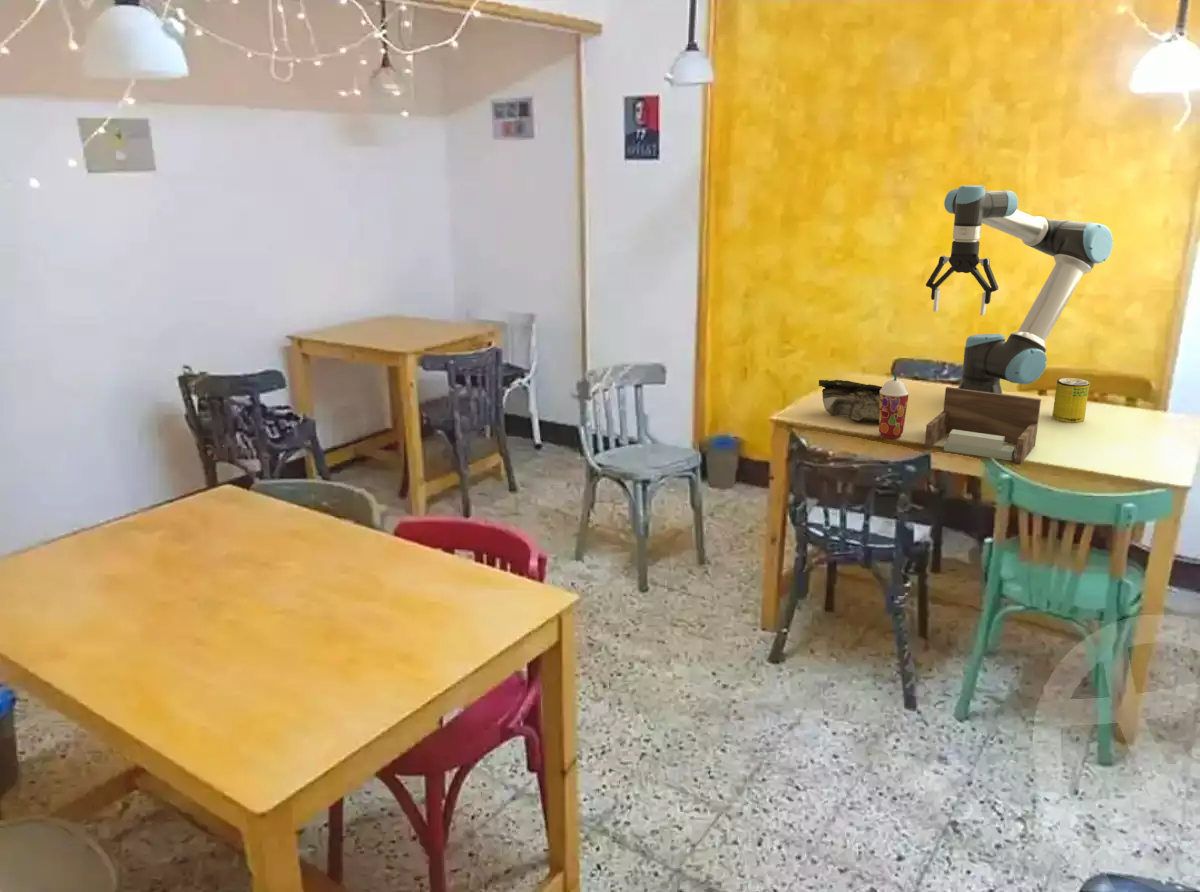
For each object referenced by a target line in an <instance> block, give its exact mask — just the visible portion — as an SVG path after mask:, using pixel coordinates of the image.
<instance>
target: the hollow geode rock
mask: <svg viewBox="0 0 1200 892" xmlns="http://www.w3.org/2000/svg"><path fill="white" fill-rule="evenodd" d="M818 387H822V390H821V393H822V403H823V407H824V409H825V411H826V412H827V413H829V415H830V416H831V415H834V416H835V415H837V416H838V415H841V416H845V417H850V418H851V419H852V420H855V421H859V422H860V421H861V420H862V419H864V418H873V419H876V420H878V421H879V399H880V392H879V391H880V390H881V388H882V387H883V386H880V385H876V384H865V383H860V382H855V381H850V380H843V379H833V380H828V379H819V380H818Z"/></svg>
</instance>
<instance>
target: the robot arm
mask: <svg viewBox="0 0 1200 892" xmlns="http://www.w3.org/2000/svg"><path fill="white" fill-rule="evenodd" d="M943 204H944V209H945V210H946V211H947V213H949V214H951V215H952V214H953V215H954V220H953V221H954V222H953V232H952V239H953V241H952V242H951V252H950V253H951V254H950V256H946V255H942V256H939V258H938V263H937V265H936V266H935V268H934V270H933V272H932V273H931V275H930V277H929V278H928V279H927V282H926V283H925V287H927V288H930V289H931V294H930V295H931V296H930V297H931V298H930V299H931V300H934V301H933V309H932V310H933V311H932V312H938V311H939V308H940V297H941V288H939V287H940V286H941V285H942V284H943V283H944V282H945V281H946V280H947V279H948V278H949V277H950V276H951V275H952V274H953V273H954V272H955V273H956V274H957V273H958V274H960V273H964V274H969V273H970V274H971V275H972V277H974V278H975V280H976V281H977V282H978V284H979V285H980V286H981V288H982V289H983V290H984V291H983V292H982V293H981V294H982V295H981V303H980V312H979V313H980V315H979V316H985V315H986V311H987V305H989V304H990V303H991V297H992V293H994V292H996V291H998V290H999V285H998V283H997V280H996V278H995V276H994V273H993V270H992V268H991V266H990V265H991V263H990V262H991V261H990V260H991V259H990V258H989V257H985V258H980V257H979V253H980V252H979V251H980V241H978V240H980V239H981V233H982V232H981V231H982V225H985V226H988V227H990V228H993V229H994V230H995V229H996V230H998V231H1000V232H1003V233H1004V234H1005V233H1006V234H1008V235H1010V236H1011V237H1015V238H1017V239H1019V240H1021V241H1022V243H1023V244H1024V245H1025V246H1028V247H1030V248H1032V249H1035V250H1036V251H1038V252H1041V253H1044V254H1045V255H1048V256H1051V257H1053V260H1054V262H1055V264H1054V266H1053V268H1052V270H1051V272H1050V273H1049V275H1048V276H1047V279H1046V281H1045V282H1044V284H1043V286H1042V287H1041V289H1040V291H1039V293H1038V294H1037V296H1036V298H1035V300H1034V302H1033V303H1032V306H1031V307H1030V309H1029V311H1028V313H1027V314H1026V317H1025V318H1024V319H1023V321H1022V322H1021V323H1022V324H1021V325H1020V326H1019V328H1018V330H1017V331H1015V332H1011V334H1010V335H1009V336H1008V338H1007V340H1006V336H1005V335H1004V334H1000V333H981V334H979V333H977V334H973V335H970V336H968V337H967V338H966V340H965V346H964V354H963V365H962V376H961V381H960V383H959V384H958V387H957V388H960V389H968V390H975V391H983V392H991V393H999V394H1003V391H1002V386H1001V380H1004V381H1007V382H1010V383H1012V384H1019V385H1029V384H1031V383H1034V382H1035V381H1037V380H1038V379H1040V377H1041V376H1042V375H1043V373H1044V372H1045V370H1046V368H1047V361H1048V358H1047V354H1046V352H1047V347H1046V344H1045V343H1046V341H1047V339H1048V337H1049V336H1050V334H1051V332H1052V330H1053V329H1054V326H1055V325H1056V324H1057V321H1058V319H1059V317H1060V316H1061V315H1062V313H1063V311H1064V310H1065V307H1066V306H1067V303H1068V302H1069V300H1070V299H1071V297H1072V295H1073V293H1074V291H1075V289H1077V286H1078V284H1079V283H1080V281H1081V279H1082V277H1083V275H1086V274H1088V273H1091V272H1092V270H1093V269H1094V267H1095V265H1097V264H1101V263H1103V262H1105V261H1107V259H1108V258H1109V257H1110V256H1111V254H1112V252H1113V251H1112V250H1113V247H1114V240H1113V234H1112V232H1111V230H1110V228H1109V227H1108V226H1107V225H1105V224H1101V223H1096V222H1095V221H1094V222H1092V221H1090V222H1087V221H1086V222H1085V221H1073V220H1067V219H1066V220H1063V219H1062V220H1061V219H1052V218H1051V219H1050V218H1046V217H1045V216H1040V215H1037V216H1032V215H1030V214H1028V213H1026V212H1023V211H1021V210H1019V209H1018V208H1019V207H1018V205H1019V198H1018V195H1017V194H1016V193H1015V192H1014V191H1012V190H1004V189H1003V190H1002V189H1001V190H986V186H984V185H981V184H980V185H978V184H977V185H976V184H975V185H974V184H973V185H968V184H967V185H966V184H965V185H961V186H959V187H958V188H954V189H951V190H950V191H948V192H947V194H946V196H945V197H944V201H943ZM947 263H949V264H950V267H949V269H948V270H947V271H945V273H944V274H943V275H942V276H941V277H940V278H939V279H938V280H937V281H936V282H935V280H936V279H937V277H938V275H940V273H941V271H942V269H943V268H944V265H946V264H947ZM979 264H980V265H981V267H983V270H984V273H985V275H986V278H987V280H986V279H985V277H983V275H982V274H981V272H980V271H979V269H978V268H977V266H978V265H979ZM987 281H988V282H989V283H988V282H987ZM934 282H935V283H934Z"/></svg>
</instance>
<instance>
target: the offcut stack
mask: <svg viewBox="0 0 1200 892" xmlns="http://www.w3.org/2000/svg"><path fill="white" fill-rule="evenodd" d="M1004 440H1005V436H998V435H990V434H983V433H976V432H969V431H962V430H954V429H953V430H952V431H951V432H950V433H949V434H948V438H947V439H946V440H945V441H944V446H943V451H945V452H952V453H957V454H958V453H959V454H965V455H972V456H978V457H984V458H992V459H998V460H1005V461H1011V462H1012V460H1013V459H1014V457H1015V456H1016V447H1015V446H1007V445H1005V443H1004Z"/></svg>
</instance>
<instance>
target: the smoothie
mask: <svg viewBox="0 0 1200 892" xmlns="http://www.w3.org/2000/svg"><path fill="white" fill-rule="evenodd" d="M897 377H898V371H897V370H895V371H894V377H893V379H889V380H888V381H886V382H885V383H884V384H883V385H882V386H881V387H882V388H881V390H880V391H879V392H880V399H879V420H878V431H879V433H880V436H881V437H883V438H884V439H892V440H893V439H899V438H900V437H902V434H903V433H904V426H905V420H906V414H907V406H908V400H909V395H910V391H909V390H908V387H907V386H906V384H905V383H904V382H903V381H901V380H899V379H897Z"/></svg>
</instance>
